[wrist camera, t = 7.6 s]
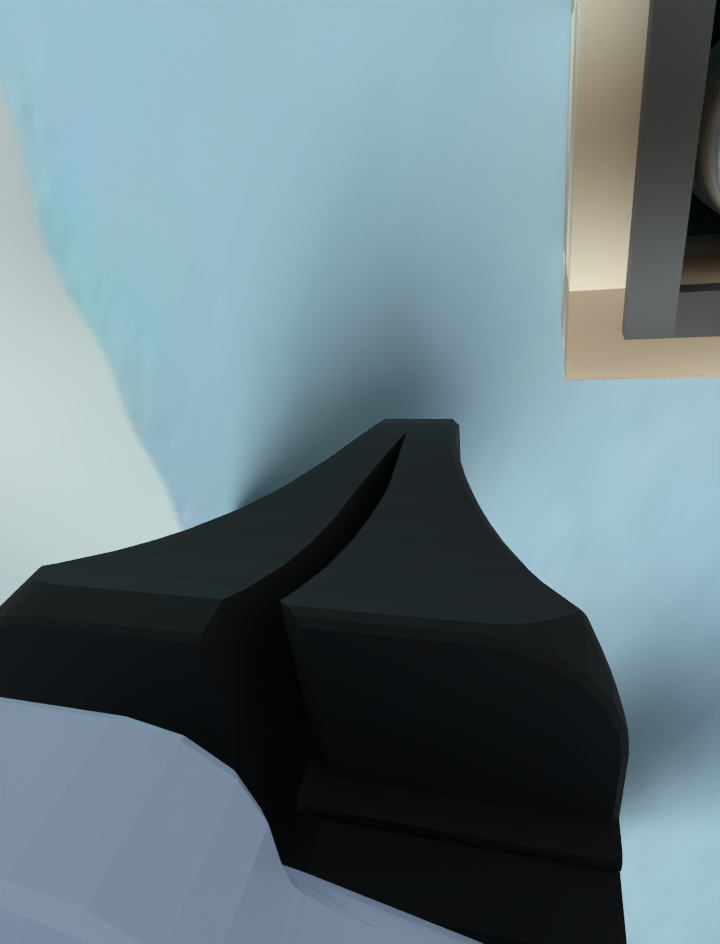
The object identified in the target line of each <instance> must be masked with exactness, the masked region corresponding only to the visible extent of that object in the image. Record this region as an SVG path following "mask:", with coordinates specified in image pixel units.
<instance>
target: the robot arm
mask: <svg viewBox="0 0 720 944" xmlns="http://www.w3.org/2000/svg"><path fill="white" fill-rule="evenodd" d="M628 756H629V739H628V729H627V723H626V719H625V715H624V711H623V707H622V704H621V700H620V697H619V693H618V690H617V687H616V684H615V681H614V678H613V675H612V673H611V670H610V667H609V665H608V662H607V660H606V658H605V655H604V653H603V650H602V648H601V646H600V643H599V641H598V639H597V637H596V635H595V633H594V630H593V628H592V626H591V624H590V622H589V620H588V618H587V616H586V615H585V613H584V612H583V611H581V610H580V609H579V608H578V607H576V606H575V605H573V604H572V603H571V602H569V601H568V600H566V599H565V598H564V597H562V596H561V595H559V594H558V593H557V592H555V591H554V590H552V589H551V588H550V587H548V586H547V585H545V584H544V583H543V582H541V581H540V580H539V579H538V578H537V577H536V576H535V575H534V574H533V573H531V572H530V571H529V570H528V569H527V568H526V566H525V565H524V564H523V563H522V562H521V561H520V560H519V559H518V558H517V556H516V555H515V554H514V553H513V552H512V551H511V550H510V549H509V548H508V546H507V545H506V544H505V543H504V542H503V541H502V539H501V538H500V537H499V535H498V534H497V532H496V531H495V530H494V528H493V527H492V526H491V524H490V523H489V521H488V519H487V518H486V516H485V515H484V513H483V511H482V510H481V508H480V506H479V504H478V503H477V501H476V499H475V497H474V495H473V493H472V490H471V488H470V486H469V484H468V482H467V479H466V477H465V474H464V471H463V468H462V465H461V462H460V438H459V425H458V424H457V423H456V422H455V421H454V420H453V419H385V420H383V421H381V422H380V423H378V424H376V425H375V426H373V427H372V428H371V429H369V430H368V431H366V432H365V433H363V434H362V435H361V436H359V437H358V438H357V439H355V440H354V441H352V442H351V443H350V444H348V445H347V446H345V447H344V448H342V449H341V450H340V451H338V452H337V453H335V454H334V455H333V456H331V457H330V458H328V459H327V460H325V461H324V462H322V463H321V464H319V465H318V466H316V467H314V468H313V469H311V470H310V471H308V472H306V473H305V474H303V475H302V476H300V477H298V478H297V479H295V480H294V481H292V482H291V483H289V484H287V485H285V486H284V487H282V488H280V489H278V490H276V491H275V492H273V493H271V494H269V495H267V496H265V497H263V498H261V499H259V500H257V501H255V502H253V503H251V504H249V505H247V506H245V507H242V508H240V509H238V510H236V511H233V512H231V513H228V514H226V515H223V516H221V517H218V518H216V519H213V520H211V521H208V522H205V523H203V524H200V525H198V526H195V527H193V528H190V529H187V530H185V531H182V532H178V533H176V534H172V535H169V536H166V537H163V538H160V539H157V540H153V541H150V542H146V543H143V544H139V545H135V546H132V547H128V548H124V549H121V550H117V551H113V552H108V553H103V554H99V555H94V556H89V557H85V558H80V559H75V560H71V561H66V562H61V563H57V564H51V565H46V566H42V567H40V568H39V569H38V570H37V571H36V572H35V573H34V574H33V575H32V576H31V577H30V578H29V579H28V580H27V581H26V582H25V583H24V584H22V585H21V586H20V587H19V588H18V589H17V590H16V591H15V592H14V593H13V594H12V595H11V596H10V597H9V598H8V599H7V600H6V601H5V602H4V603H3V604H2V605H1V606H0V944H627V943H626V932H625V922H624V911H623V901H622V890H621V880H620V871H621V868H622V845H621V835H620V825H619V814H620V807H621V801H622V795H623V788H624V782H625V775H626V769H627V763H628Z"/></svg>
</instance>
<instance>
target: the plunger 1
mask: <svg viewBox="0 0 720 944" xmlns="http://www.w3.org/2000/svg"><path fill="white" fill-rule="evenodd" d="M692 192H693V193H694V195H695V196H696V197H697V198H698V199H700V200H701V201H702V202H703V203H704V204H706V205H707V206H708V207H710V208H711V209H712V210H714V211H715V212H716V213H718V214H719V215H720V40H719V41H718V42H717V43H716V44H715V45H714V47H713V48H712V49H711V50H710V54H709V62H708V69H707V77H706V85H705V93H704V101H703V109H702V117H701V124H700V132H699V140H698V148H697V156H696V164H695V172H694V179H693V187H692Z"/></svg>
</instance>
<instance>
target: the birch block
mask: <svg viewBox="0 0 720 944" xmlns="http://www.w3.org/2000/svg"><path fill="white" fill-rule="evenodd" d="M715 7H716V0H572V22H571V51H570V80H569V109H568V138H567V167H566V196H565V225H564V254H563V283H562V312H561V321H562V335H563V349H564V363H565V377H566V380H610V379H656V378H701V377H720V233H717V234H705V235H692V236H686V234H687V227H688V219H689V211H690V203H691V195H692V187H693V179H694V172H695V164H696V156H697V148H698V140H699V132H700V124H701V117H702V109H703V101H704V93H705V85H706V77H707V69H708V62H709V54H710V46H711V38H712V30H713V22H714V14H715Z"/></svg>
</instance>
